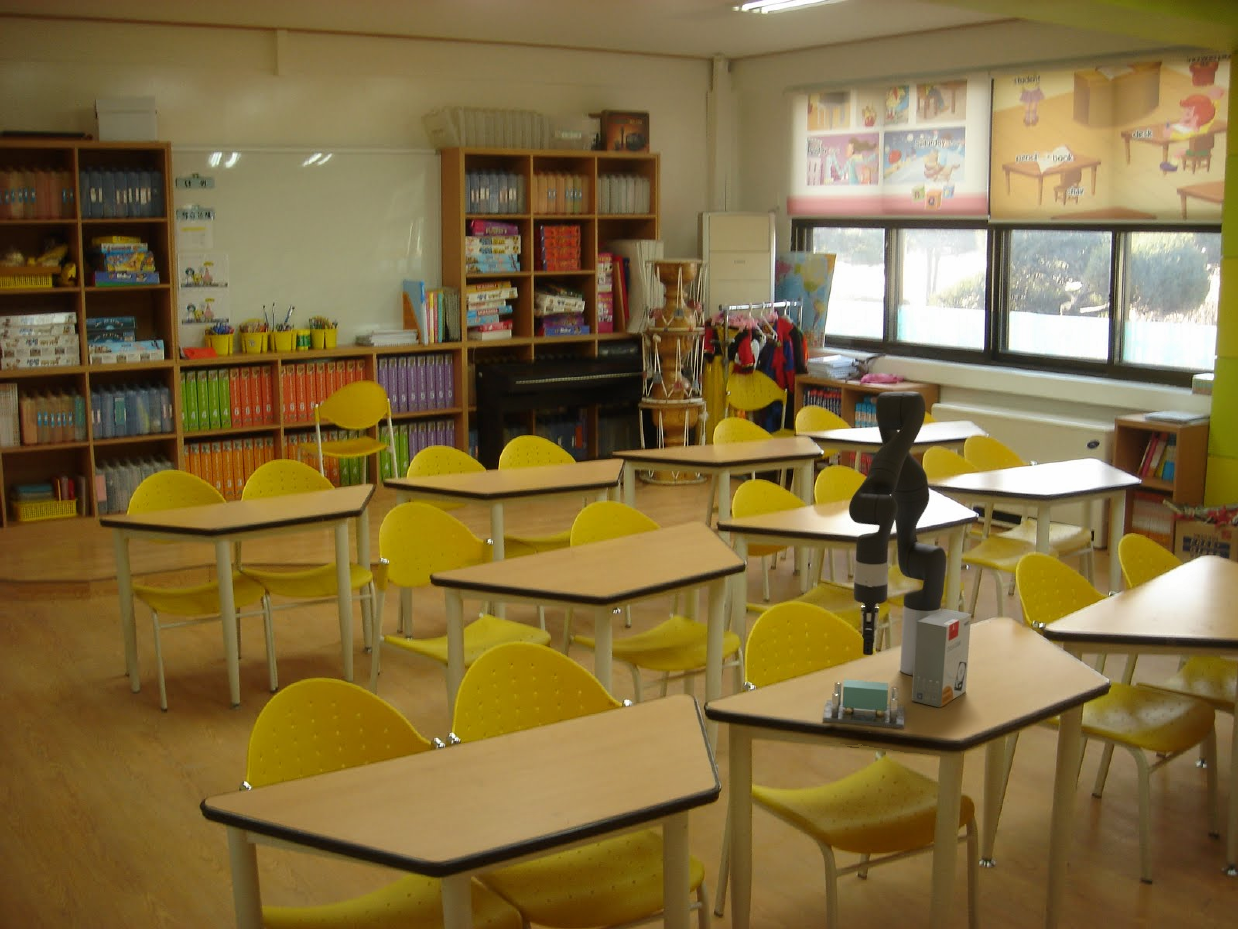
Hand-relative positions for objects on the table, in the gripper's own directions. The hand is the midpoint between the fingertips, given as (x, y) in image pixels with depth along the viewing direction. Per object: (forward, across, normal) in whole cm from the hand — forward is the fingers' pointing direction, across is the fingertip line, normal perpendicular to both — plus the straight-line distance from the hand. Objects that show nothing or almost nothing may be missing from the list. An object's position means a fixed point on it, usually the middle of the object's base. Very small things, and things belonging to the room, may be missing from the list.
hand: (868, 648), depth 299 cm
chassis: (+16, 0, 0) cm, 16 cm away
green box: (+14, 0, 0) cm, 14 cm away
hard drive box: (+17, -18, +17) cm, 30 cm away
